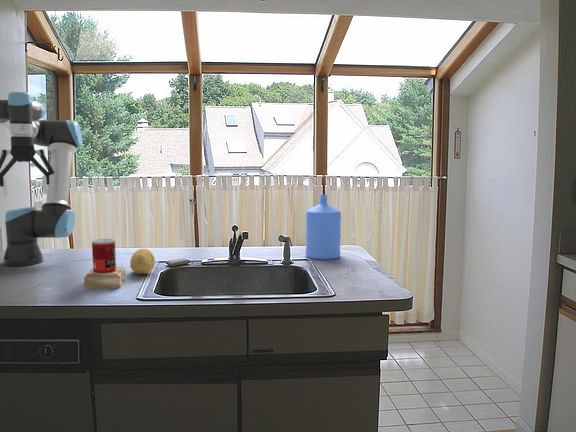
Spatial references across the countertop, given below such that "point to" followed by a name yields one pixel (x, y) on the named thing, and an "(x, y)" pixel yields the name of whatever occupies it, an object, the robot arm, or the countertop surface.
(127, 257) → the countertop surface
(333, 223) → the water jug
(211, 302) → the countertop surface
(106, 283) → the plinth
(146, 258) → the potato
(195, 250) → the countertop surface
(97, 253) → the canned food
